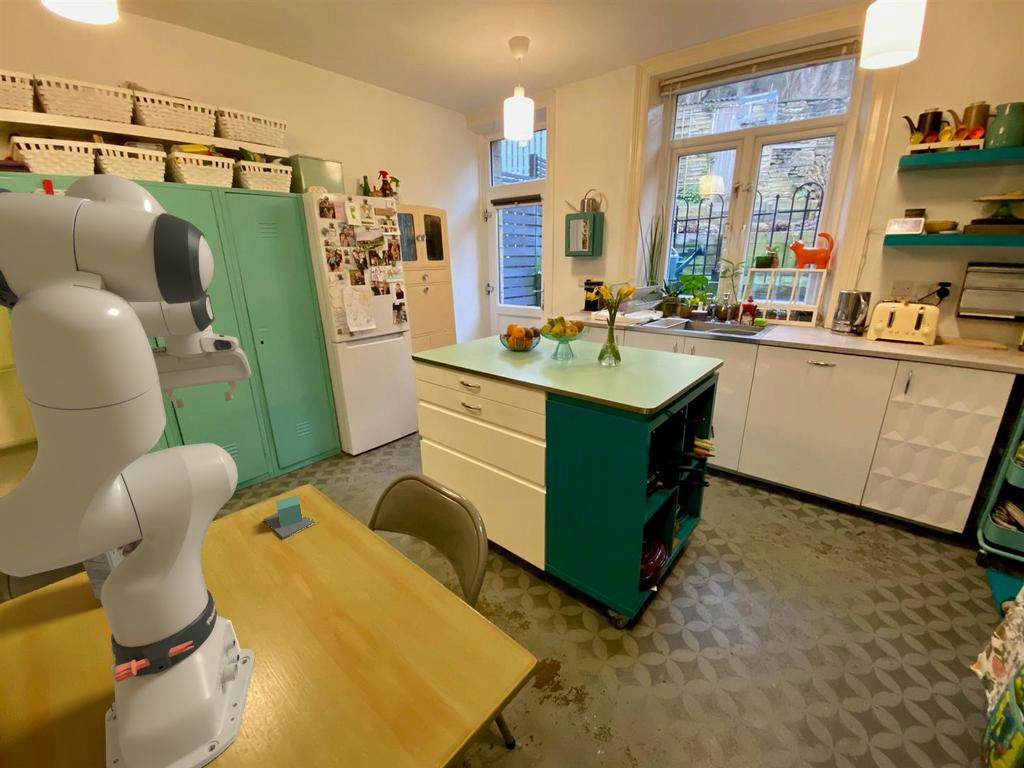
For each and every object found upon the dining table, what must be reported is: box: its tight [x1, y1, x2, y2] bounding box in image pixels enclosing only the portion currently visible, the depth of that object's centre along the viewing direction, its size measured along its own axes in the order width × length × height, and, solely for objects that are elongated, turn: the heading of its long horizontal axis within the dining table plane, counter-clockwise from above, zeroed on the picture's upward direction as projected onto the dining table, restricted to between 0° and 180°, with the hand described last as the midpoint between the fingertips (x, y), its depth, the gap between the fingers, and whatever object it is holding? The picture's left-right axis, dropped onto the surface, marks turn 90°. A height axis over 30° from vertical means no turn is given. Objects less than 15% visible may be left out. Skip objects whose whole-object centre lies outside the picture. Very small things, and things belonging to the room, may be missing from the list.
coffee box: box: [81, 538, 143, 601], centre depth 86 cm, size 9×6×16 cm
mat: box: [263, 512, 315, 539], centre depth 109 cm, size 12×9×1 cm
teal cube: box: [275, 494, 303, 527], centre depth 108 cm, size 5×5×5 cm
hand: (205, 403), depth 96 cm, fingers open, 8 cm apart
